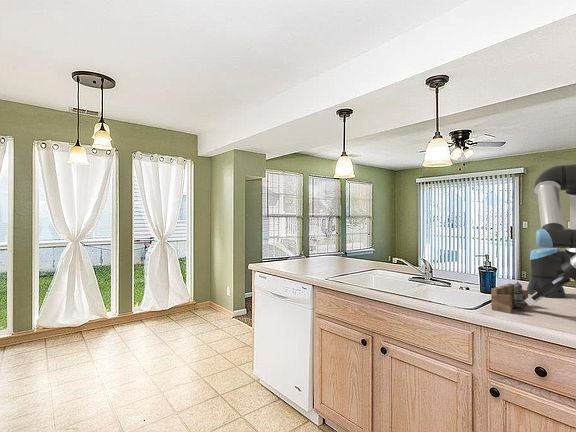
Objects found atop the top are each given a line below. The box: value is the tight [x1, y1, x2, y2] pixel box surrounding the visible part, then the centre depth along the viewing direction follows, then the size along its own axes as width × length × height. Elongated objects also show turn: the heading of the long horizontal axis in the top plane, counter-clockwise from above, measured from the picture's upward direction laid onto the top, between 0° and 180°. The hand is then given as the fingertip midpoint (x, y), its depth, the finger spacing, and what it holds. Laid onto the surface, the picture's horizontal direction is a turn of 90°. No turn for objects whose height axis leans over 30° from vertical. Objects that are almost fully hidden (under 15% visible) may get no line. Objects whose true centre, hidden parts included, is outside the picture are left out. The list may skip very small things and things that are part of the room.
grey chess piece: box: [512, 281, 527, 312], centre depth 137 cm, size 6×6×12 cm
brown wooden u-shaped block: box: [490, 283, 530, 314], centre depth 139 cm, size 18×7×9 cm, turn 123°
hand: (527, 302), depth 134 cm, fingers closed
